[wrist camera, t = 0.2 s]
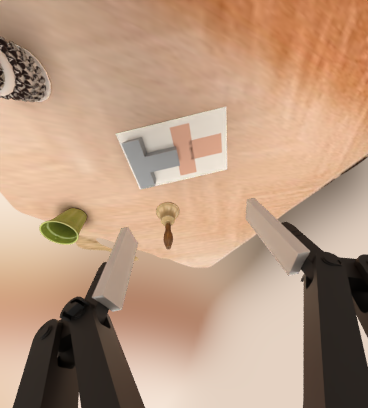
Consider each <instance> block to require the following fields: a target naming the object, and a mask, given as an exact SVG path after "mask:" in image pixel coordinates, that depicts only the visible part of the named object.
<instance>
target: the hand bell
mask: <svg viewBox="0 0 368 408" xmlns="http://www.w3.org/2000/svg"><path fill="white" fill-rule="evenodd" d="M156 214H157V216H158V217H159V218H160V219H161V223H162V224H163V225H165V228H166V231H165V234H164V244H165V246H166V249H170V248H171V245H172V242H173V236H172V233H171V225H172V224H173V223H174V221H175V219H176V218H177V217H178V215H179V208H178V207H177V206H176V205H175V204H173V203H170V202H166V203H162V204H161V205H159V206H158V207H157V210H156Z"/></svg>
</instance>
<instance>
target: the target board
mask: <svg viewBox="0 0 368 408" xmlns="http://www.w3.org/2000/svg"><path fill="white" fill-rule="evenodd" d="M116 136H117V139H118V141H119V143H120V145H121V148H122V150H123V152H124V154H125V157H126V159H127V161H128V163H129V166H130V168H131V170H132V172H133V175H134V177H135V179H136V181H137V184H138V186H139V188H140V190H141V187H140V185H139V183H138V180H137V178H136V176H135V174H134V171H133V169H132V167H131V164H130V162H129V160H128V158H127V155H126V153H125V151H124V149H123V146H122V144H121V143H123V142H125V141H127V140H131V139H135V138H139V137H142V139H143V142H144V145H145V148H146V151H147V153H149V152H153V151H157V150H162V149H166V148H170V147H174V146H176V149H177V154H178V158H179V163H180V166H176V167H172V168H167V169H163V170H159V171H155V172H154V174H155V177H156V184H155V186H158V185H162V184H167V183H171V182H175V181H180V180H184V179H188V178H193V177H197V176H201V175H206V174H210V173H214V172H219V171H223V170H227V119H226V107H222V108H218V109H214V110H210V111H206V112H202V113H198V114H194V115H190V116H186V117H181V118H177V119H173V120H169V121H165V122H161V123H157V124H153V125H149V126H145V127H141V128H137V129H133V130H129V131H125V132H121V133H117V134H116ZM153 187H154V186H153ZM144 189H145V188H144Z"/></svg>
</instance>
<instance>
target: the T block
mask: <svg viewBox="0 0 368 408" xmlns="http://www.w3.org/2000/svg"><path fill="white" fill-rule="evenodd" d="M121 144H122V146H123V149H124V151H125V153H126V155H127V158H128V160H129V162H130V164H131V167H132V169H133V171H134V174H135V176H136V178H137V180H138V183H139V185H140V187H141V189H144V188H149V187H153V186H155V184H156V177H155V174H154V172H155V171H159V170H163V169H167V168H172V167H176V166H180V163H179V158H178V154H177V149H176V146H174V147H170V148H166V149H162V150H157V151H153V152H149V153H147V151H146V148H145V145H144V142H143V139H142V137H139V138H135V139H131V140H127V141H125V142H123V143H121Z"/></svg>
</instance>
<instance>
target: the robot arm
mask: <svg viewBox="0 0 368 408" xmlns="http://www.w3.org/2000/svg"><path fill="white" fill-rule="evenodd" d="M246 220H247V221H248V223H249V224H250V225H251V227H252V228H253V229H254V231H255V232H256V233H257V235H258V236H259V237H260V239H261V240H262V241H263V242H264V244H265V245H266V247H267V248H268V249H269V250H270V252H271V253H272V254H273V256H274V257H275V259H276V260H277V261H278V262H279V264H280V265H281V266H282V268H283V269H284V270H285V272H286V273H287V275H293V274H298V273H299V271H300V270H302V271H303V272H304V273H305V274H304V275H303V277H302V279H301V281H302V282H303V281H304V401H303V408H368V366H367V362H366V357H365V353H364V348H363V344H362V339H361V335H360V330H359V326H358V321H357V317H358V319H359V321H360V323H361V325H362V327H363V329H364V331H365V333H366V335H367V337H368V255H361V256H359V257H358V258H357V259H350V258H339V257H337V256H336V255H334V254H331V253H329V252H324V251H322V250H321V249H320V248H319V247H318V246H316V245H315V244H314V243H313V242H312V241H311V240H309V239H308V238H307V237H306V236H305V235H303V233H301V232H300V231H299V230H298V229H297V228H296V227H295V226H293V225H292V224H290V223H288V222H284V223H280V222H279V221H278V220H277V219H276V218H275V217H274V216H273V215H272V214H271V213H270V212H269V211H267V210H266V209H265V208H264V207H263V206H262V205H261V204H260V203H259V202H258V201H257V200H256V199H255V198H251V199H247V205H246ZM137 246H138V242H137V240H136V239H135V237H134V236H133V234H132V232H131V231H130V229H129V228H128V227H126V228H121V230H120V233H119V235H118V237H117V240H116V242H115V245H114V247H113V249H112V251H111V254H110V256H109V259H108V261H107V262H104V263H103V264H102V265H101V266H100V268H99V269H98V271H97V274H96V276H95V278H94V281H93V282H92V284H91V286H90V288H89V290H88V293H87V295H86V297H85V299H83V298H82V297H76V298H73V299H72V300H70V301H69V302H68V303H67V304H66V305H65V307H64V308H63V310H62V312H61V314H60V318H61V320H59V321H58V320H56V319H52V320H49V321H48V322H46V323H45V324H44V325H43V326H42V327H41V328H40V329H39V330H38V332H37V333H36V335H35V337H34V339H33V342H32V345H31V349H30V352H29V355H28V359H27V362H26V365H25V369H24V372H23V375H22V379H21V382H20V385H19V389H18V392H17V396H16V399H15V402H14V405H13V408H78V396H79V394H80V401H81V408H145V407H144V404H143V402H142V399H141V396H140V394H139V391H138V389H137V386H136V384H135V381H134V378H133V376H132V373H131V371H130V368H129V365H128V363H127V360H126V358H125V355H124V353H123V350H122V348H121V345H120V342H119V340H118V337H117V335H116V332H115V330H114V327H113V325H112V322H111V319H110V317H109V315H108V314H107V313H108V310H109V309H110V310H111V311H117V310H122V307H123V303H124V299H125V295H126V291H127V287H128V283H129V278H130V274H131V270H132V266H133V262H134V258H135V254H136V250H137ZM356 315H357V317H356Z"/></svg>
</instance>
